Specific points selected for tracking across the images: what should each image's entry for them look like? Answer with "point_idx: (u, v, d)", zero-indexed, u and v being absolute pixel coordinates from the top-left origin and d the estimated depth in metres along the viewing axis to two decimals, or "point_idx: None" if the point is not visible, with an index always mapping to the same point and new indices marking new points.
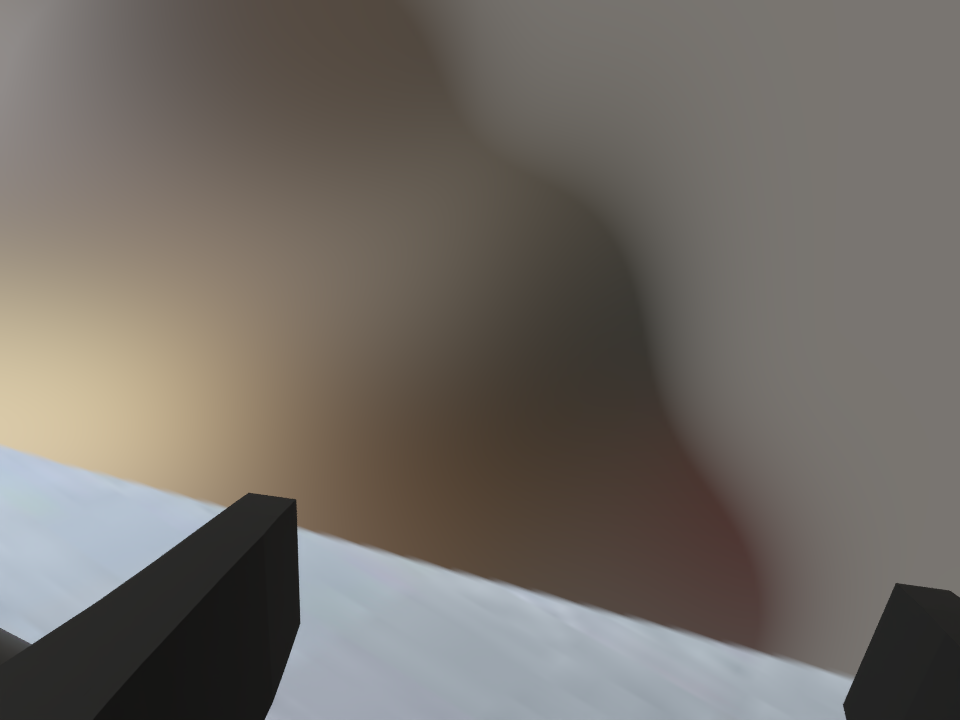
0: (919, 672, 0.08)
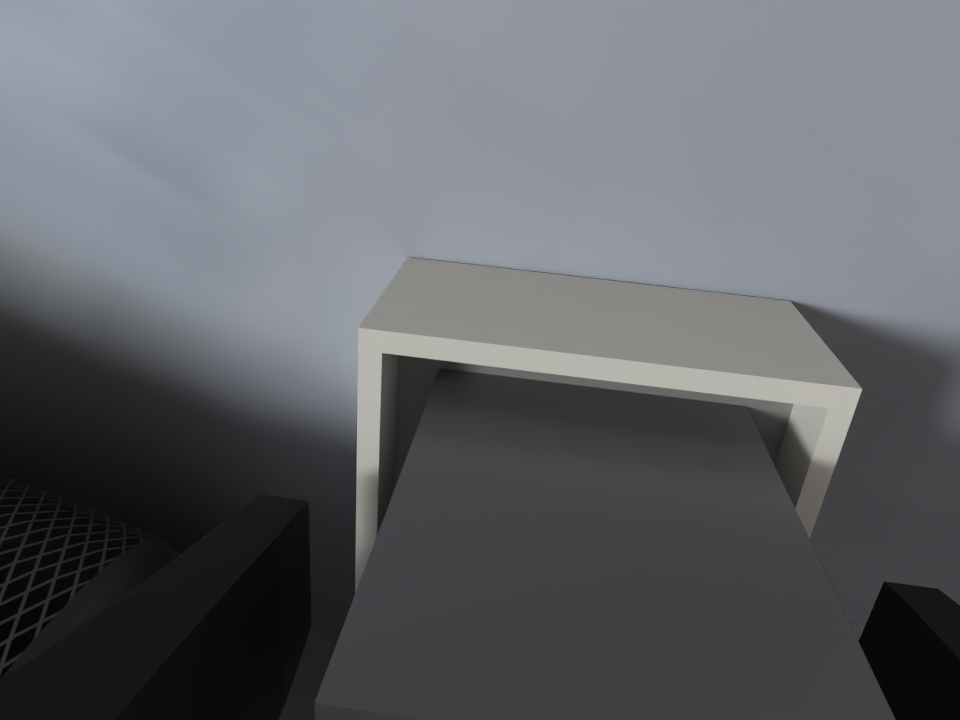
0: (906, 670, 0.08)
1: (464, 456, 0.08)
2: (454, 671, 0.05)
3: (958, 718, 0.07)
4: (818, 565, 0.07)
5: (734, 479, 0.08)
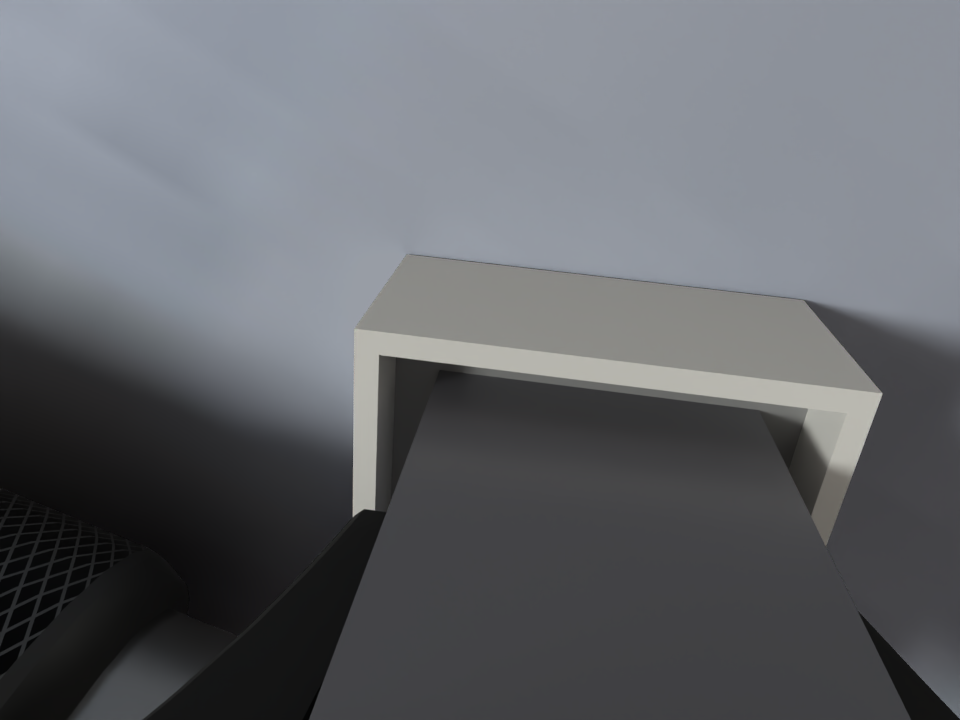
0: None
1: (464, 465, 0.08)
2: (452, 700, 0.05)
3: None
4: (839, 582, 0.06)
5: (748, 488, 0.08)
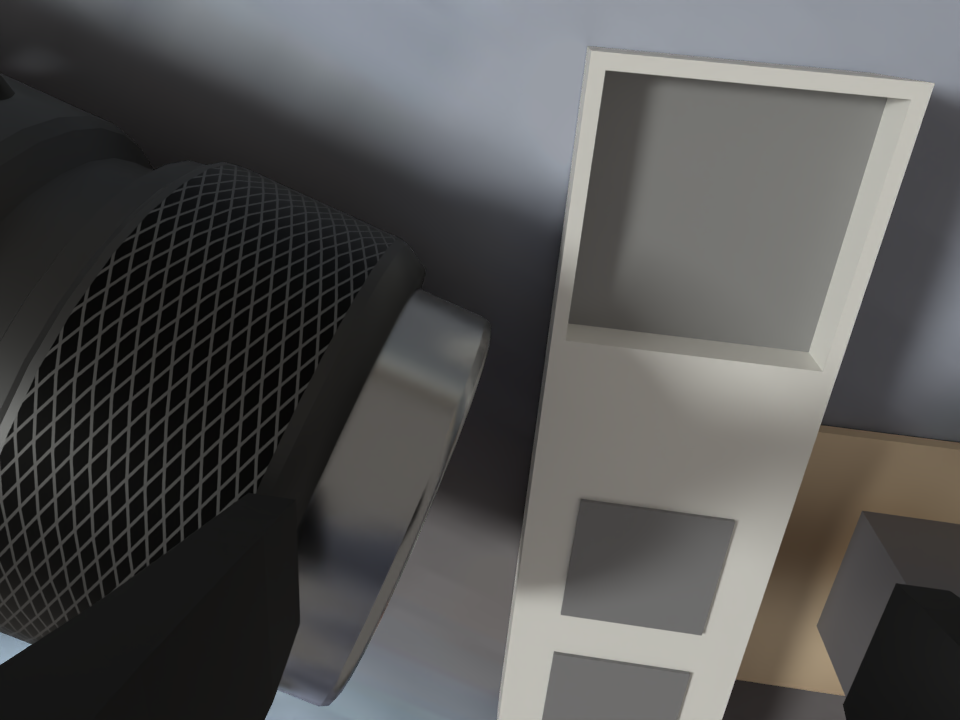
0: (919, 672, 0.08)
1: (921, 568, 0.17)
2: None
3: None
4: None
5: None
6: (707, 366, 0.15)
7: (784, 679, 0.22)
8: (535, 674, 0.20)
